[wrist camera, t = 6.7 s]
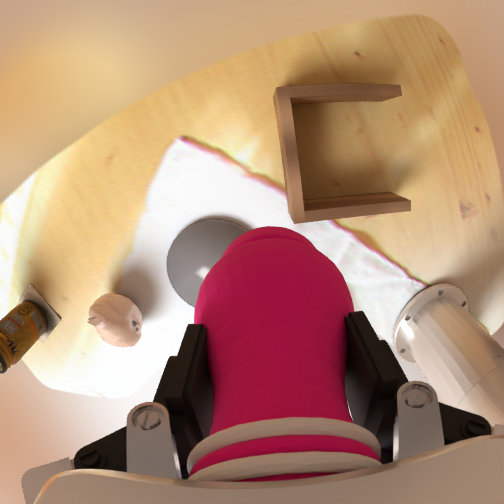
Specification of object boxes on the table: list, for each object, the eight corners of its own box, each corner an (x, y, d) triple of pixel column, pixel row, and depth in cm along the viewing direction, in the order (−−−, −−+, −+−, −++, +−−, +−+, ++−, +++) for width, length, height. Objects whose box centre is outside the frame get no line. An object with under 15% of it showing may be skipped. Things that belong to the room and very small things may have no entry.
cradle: (390, 200, 30) (410, 210, 26) (288, 211, 31) (294, 223, 26) (380, 92, 26) (400, 85, 22) (273, 96, 27) (276, 87, 22)
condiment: (14, 310, 37) (-28, 349, 26) (30, 282, 35) (-20, 323, 24) (43, 342, 39) (5, 387, 27) (62, 318, 37) (18, 367, 25)
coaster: (281, 242, 32) (282, 243, 32) (244, 322, 36) (243, 325, 35) (184, 204, 31) (183, 205, 30) (157, 290, 34) (156, 292, 34)
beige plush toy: (152, 296, 35) (129, 333, 27) (146, 336, 37) (125, 375, 29) (105, 279, 34) (73, 311, 27) (102, 319, 36) (75, 354, 29)
